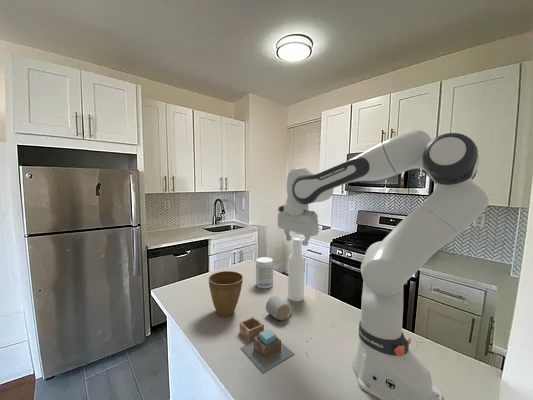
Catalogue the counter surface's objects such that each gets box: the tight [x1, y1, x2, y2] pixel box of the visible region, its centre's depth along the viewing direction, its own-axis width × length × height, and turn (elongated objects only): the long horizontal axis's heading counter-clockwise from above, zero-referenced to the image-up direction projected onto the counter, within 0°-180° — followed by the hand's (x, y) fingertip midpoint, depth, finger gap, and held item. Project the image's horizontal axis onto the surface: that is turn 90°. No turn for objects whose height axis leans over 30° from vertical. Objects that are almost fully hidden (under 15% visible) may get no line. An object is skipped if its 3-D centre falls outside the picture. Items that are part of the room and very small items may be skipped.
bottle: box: [287, 237, 305, 302], centre depth 114 cm, size 8×8×30 cm
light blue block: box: [259, 328, 277, 346], centre depth 78 cm, size 4×4×6 cm
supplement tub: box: [255, 256, 274, 289], centre depth 129 cm, size 10×10×15 cm
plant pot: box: [208, 270, 244, 318], centre depth 102 cm, size 15×15×16 cm
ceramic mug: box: [265, 295, 293, 322], centre depth 100 cm, size 11×8×8 cm
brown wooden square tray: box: [253, 335, 282, 361], centre depth 78 cm, size 7×7×4 cm
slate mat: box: [240, 341, 295, 374], centre depth 78 cm, size 13×13×1 cm
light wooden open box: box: [239, 316, 265, 343], centre depth 88 cm, size 7×7×4 cm
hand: (296, 242), depth 94 cm, fingers open, 8 cm apart
